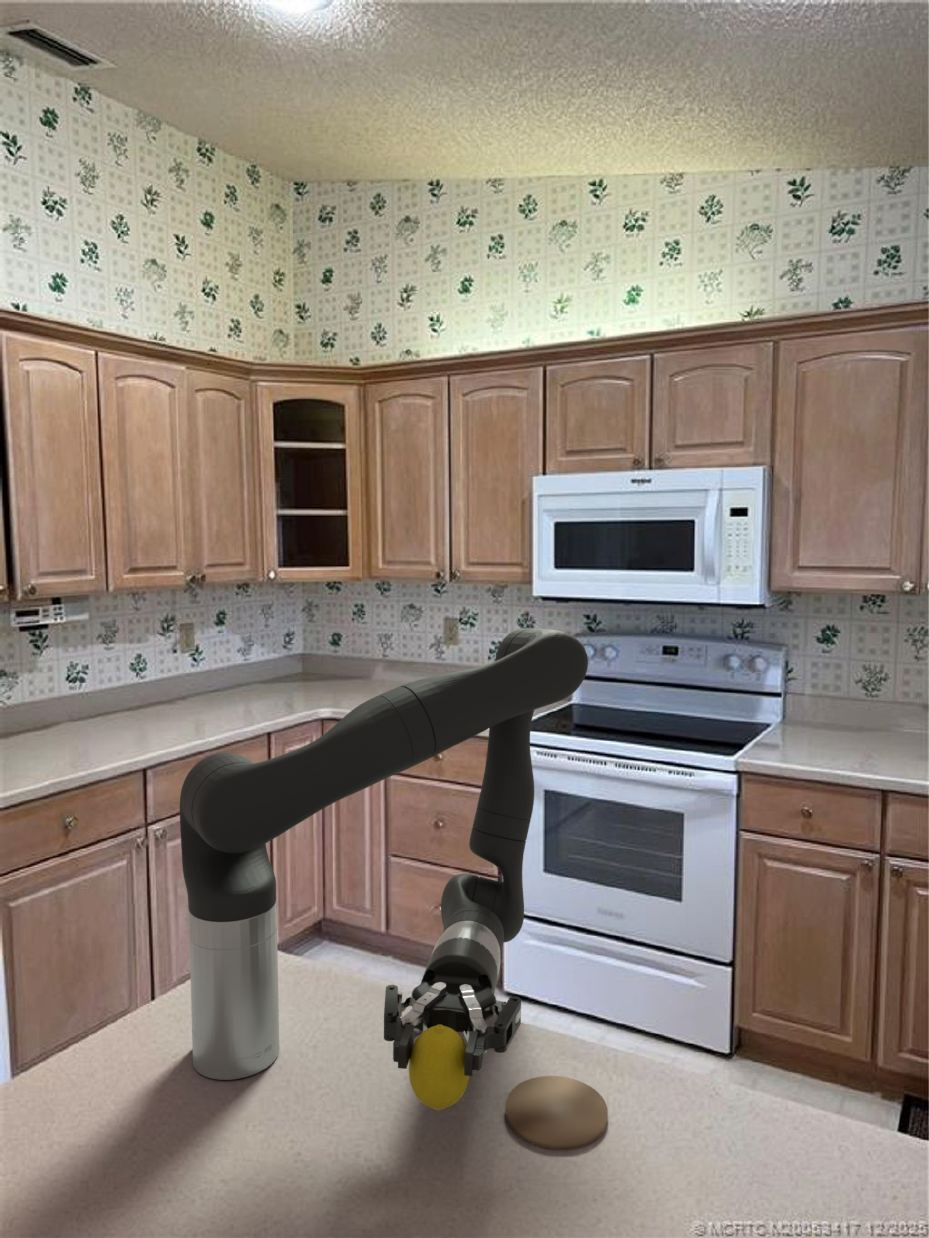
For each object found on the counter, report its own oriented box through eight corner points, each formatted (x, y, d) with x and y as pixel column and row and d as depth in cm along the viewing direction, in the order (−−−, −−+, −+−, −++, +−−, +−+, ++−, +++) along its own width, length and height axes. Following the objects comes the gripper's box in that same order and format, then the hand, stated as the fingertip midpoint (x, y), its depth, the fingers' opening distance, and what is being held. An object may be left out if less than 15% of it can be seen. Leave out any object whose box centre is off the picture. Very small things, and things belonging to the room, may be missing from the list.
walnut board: (484, 1111, 86) (484, 1103, 86) (553, 1071, 93) (553, 1063, 93) (559, 1165, 79) (559, 1157, 79) (628, 1117, 85) (628, 1109, 85)
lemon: (462, 1133, 76) (463, 1046, 75) (401, 1124, 77) (401, 1038, 77) (474, 1094, 82) (475, 1013, 81) (417, 1086, 83) (417, 1006, 82)
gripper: (398, 930, 94) (356, 1014, 77) (531, 941, 92) (517, 1030, 75) (397, 997, 94) (355, 1094, 78) (529, 1009, 92) (515, 1112, 76)
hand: (435, 1062), depth 76 cm, fingers closed on lemon, 5 cm apart
